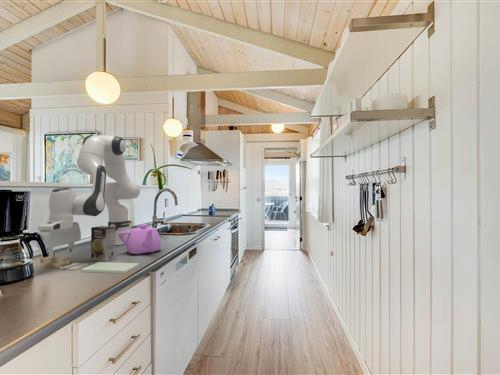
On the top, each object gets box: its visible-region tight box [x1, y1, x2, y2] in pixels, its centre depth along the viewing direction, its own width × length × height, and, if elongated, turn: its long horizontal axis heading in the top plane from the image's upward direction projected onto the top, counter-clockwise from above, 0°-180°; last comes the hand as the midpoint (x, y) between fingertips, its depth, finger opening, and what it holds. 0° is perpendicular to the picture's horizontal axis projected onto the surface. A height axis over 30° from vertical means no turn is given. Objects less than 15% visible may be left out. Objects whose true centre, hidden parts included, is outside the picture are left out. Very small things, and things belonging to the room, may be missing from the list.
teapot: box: [119, 223, 162, 256], centre depth 141 cm, size 23×21×15 cm
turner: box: [39, 256, 89, 271], centre depth 117 cm, size 19×8×4 cm, turn 84°
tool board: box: [80, 261, 140, 274], centre depth 114 cm, size 11×20×1 cm, turn 84°
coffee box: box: [90, 225, 116, 262], centre depth 129 cm, size 9×6×16 cm
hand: (60, 255), depth 116 cm, fingers open, 8 cm apart
